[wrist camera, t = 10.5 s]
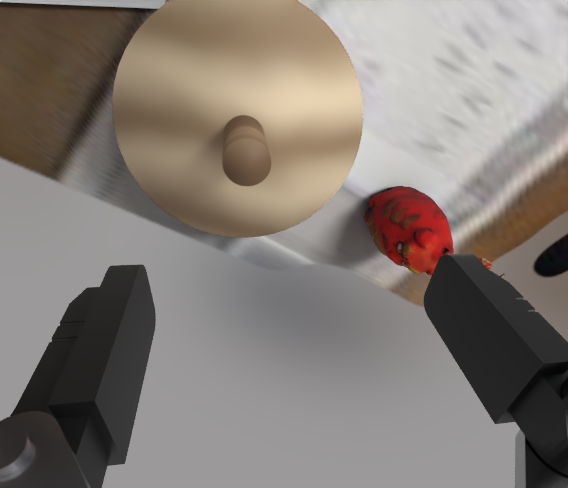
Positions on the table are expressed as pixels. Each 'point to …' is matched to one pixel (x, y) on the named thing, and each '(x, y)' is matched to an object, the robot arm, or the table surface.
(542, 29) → the table surface
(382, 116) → the table surface
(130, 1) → the mat
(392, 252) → the red clay folk toy
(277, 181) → the lid
